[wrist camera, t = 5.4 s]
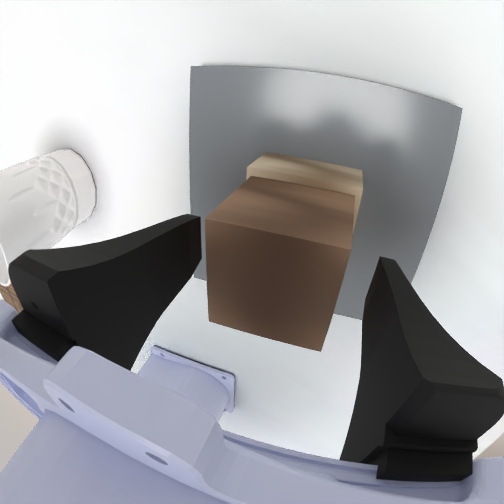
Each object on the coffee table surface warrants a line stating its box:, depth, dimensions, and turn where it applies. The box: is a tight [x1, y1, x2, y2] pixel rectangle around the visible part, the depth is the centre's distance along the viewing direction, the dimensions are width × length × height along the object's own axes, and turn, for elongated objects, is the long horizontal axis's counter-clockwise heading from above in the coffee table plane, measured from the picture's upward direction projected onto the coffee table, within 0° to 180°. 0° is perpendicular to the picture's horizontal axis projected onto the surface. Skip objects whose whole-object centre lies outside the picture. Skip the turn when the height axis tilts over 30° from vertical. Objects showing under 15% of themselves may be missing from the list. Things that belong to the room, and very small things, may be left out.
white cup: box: [0, 149, 96, 287], centre depth 19 cm, size 8×8×10 cm
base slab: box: [189, 66, 462, 320], centre depth 17 cm, size 14×14×1 cm
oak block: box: [246, 152, 363, 231], centre depth 15 cm, size 5×5×3 cm
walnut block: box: [205, 176, 355, 352], centre depth 12 cm, size 4×4×4 cm
